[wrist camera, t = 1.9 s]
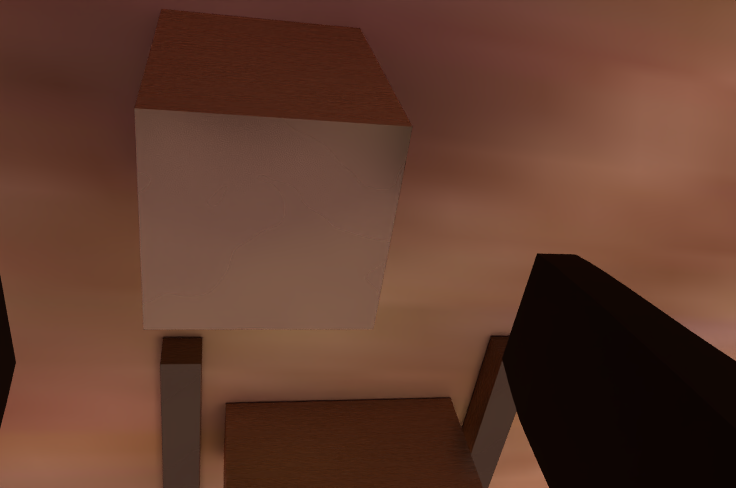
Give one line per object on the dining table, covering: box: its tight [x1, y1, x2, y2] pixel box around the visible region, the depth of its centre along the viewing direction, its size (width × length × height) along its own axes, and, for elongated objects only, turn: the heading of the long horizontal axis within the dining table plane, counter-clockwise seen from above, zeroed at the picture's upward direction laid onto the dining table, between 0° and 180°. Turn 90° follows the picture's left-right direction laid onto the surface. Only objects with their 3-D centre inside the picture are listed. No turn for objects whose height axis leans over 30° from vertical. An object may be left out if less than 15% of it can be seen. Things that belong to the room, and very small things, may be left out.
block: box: [134, 9, 412, 329], centre depth 13 cm, size 4×4×5 cm
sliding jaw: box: [224, 398, 483, 488], centre depth 19 cm, size 7×2×4 cm, turn 82°
